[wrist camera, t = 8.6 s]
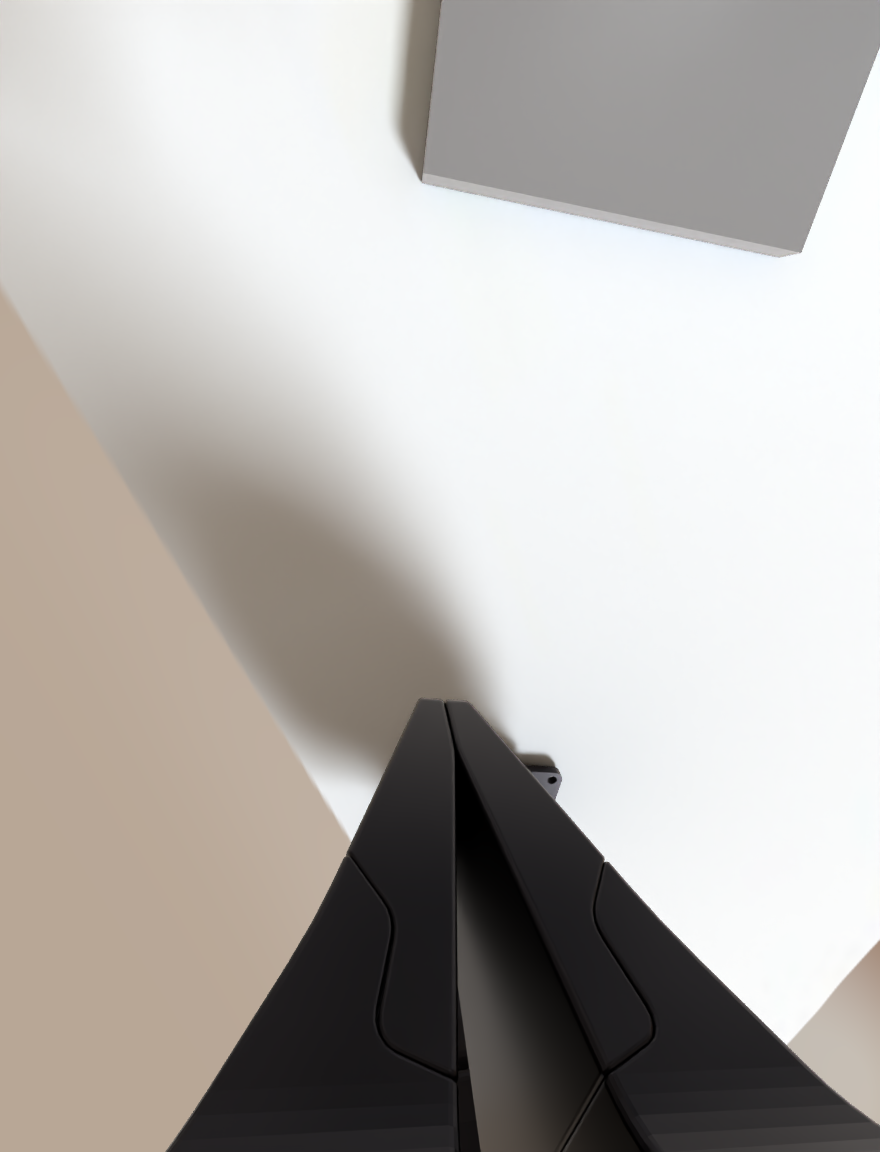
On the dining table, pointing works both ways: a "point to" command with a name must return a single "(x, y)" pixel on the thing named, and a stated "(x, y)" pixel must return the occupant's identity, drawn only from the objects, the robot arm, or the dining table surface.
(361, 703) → the dining table surface
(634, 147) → the gray flat rectangular panel
